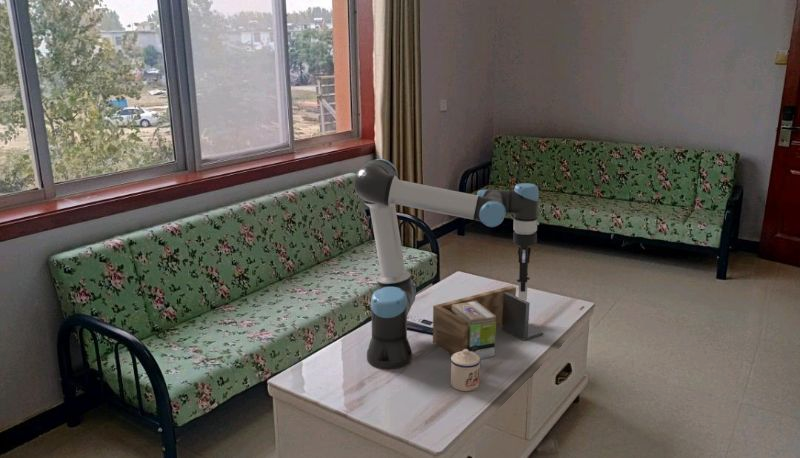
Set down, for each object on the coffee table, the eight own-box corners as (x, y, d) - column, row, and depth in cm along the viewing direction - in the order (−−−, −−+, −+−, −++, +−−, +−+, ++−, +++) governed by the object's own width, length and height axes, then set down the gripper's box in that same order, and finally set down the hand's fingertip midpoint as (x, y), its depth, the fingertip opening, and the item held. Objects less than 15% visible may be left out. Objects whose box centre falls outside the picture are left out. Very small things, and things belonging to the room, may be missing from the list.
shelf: (462, 362, 209) (463, 323, 205) (432, 342, 223) (433, 305, 219) (542, 336, 227) (544, 300, 223) (510, 319, 241) (512, 285, 237)
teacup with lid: (468, 395, 189) (469, 360, 186) (444, 385, 195) (444, 351, 191) (490, 379, 198) (491, 346, 195) (466, 370, 204) (467, 337, 200)
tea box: (495, 356, 213) (497, 316, 209) (468, 361, 210) (470, 320, 205) (475, 338, 226) (476, 299, 222) (449, 342, 223) (450, 303, 219)
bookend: (524, 340, 224) (526, 303, 220) (501, 328, 234) (503, 292, 230) (543, 334, 229) (545, 298, 225) (520, 322, 238) (522, 287, 235)
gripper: (536, 237, 198) (533, 307, 204) (537, 226, 210) (534, 292, 217) (512, 236, 200) (509, 305, 206) (514, 225, 212) (512, 291, 218)
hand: (522, 299), depth 211 cm, fingers closed
